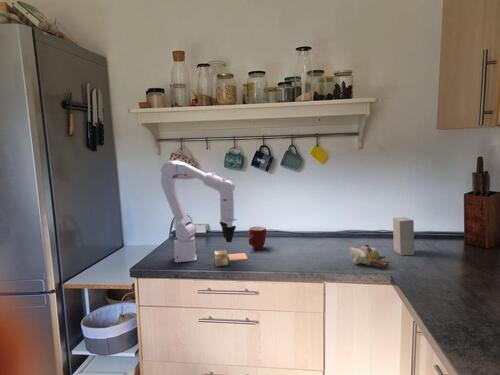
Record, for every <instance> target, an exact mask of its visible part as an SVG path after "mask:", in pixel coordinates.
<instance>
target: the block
mask: <svg viewBox="0 0 500 375" xmlns="http://www.w3.org/2000/svg"><path fill="white" fill-rule="evenodd" d="M214 264H215V267H220V266H223V267H224V266H228V265H229V258H228V252H227V250H214Z"/></svg>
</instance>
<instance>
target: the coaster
mask: <svg viewBox="0 0 500 375" xmlns="http://www.w3.org/2000/svg"><path fill="white" fill-rule="evenodd" d="M227 254H228V253H227ZM248 260H249V258H248V256H247V254H246V253H245V252H241V253H240V252H239V253H238V252H237V253H229V254H228V261H229V262H235V261H236V262H238V261H239V262H240V261H248Z"/></svg>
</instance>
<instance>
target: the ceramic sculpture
mask: <svg viewBox="0 0 500 375" xmlns="http://www.w3.org/2000/svg"><path fill="white" fill-rule="evenodd" d="M349 253H350V258H351V260H352V263H353V264H354V265H359V264H363V265H366V266H367V265H368V266H374V267H377V268H378V267H379V268H380V267H385V266H388V265H389V263H386V262H384V260H383V259H385V258H386V256H385V255H380V252H379V251H378V249H376V248H375V247H371V246H369V244H364V245H362V246H361V247H360V248H357V247H353V246H349Z"/></svg>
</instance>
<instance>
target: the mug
mask: <svg viewBox="0 0 500 375" xmlns="http://www.w3.org/2000/svg"><path fill="white" fill-rule="evenodd" d="M248 230H249V231H248V232H249V238H248V244H249V245H250V246H251V247H252V248H253V249H254V250H256V251H258V250H259V251H261V250H262V249H263V248H264V246H265V244H266V237H267V228H266V227H264V226H251V227H249V229H248Z"/></svg>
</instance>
